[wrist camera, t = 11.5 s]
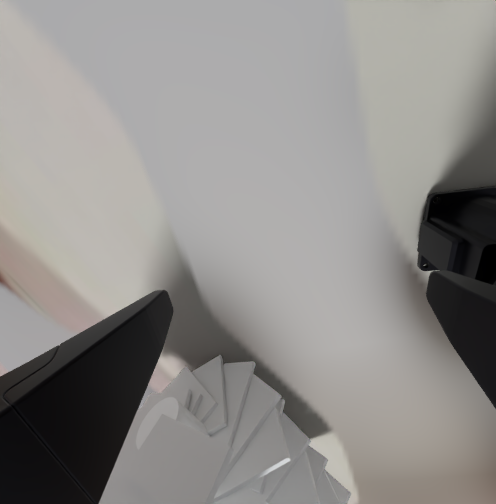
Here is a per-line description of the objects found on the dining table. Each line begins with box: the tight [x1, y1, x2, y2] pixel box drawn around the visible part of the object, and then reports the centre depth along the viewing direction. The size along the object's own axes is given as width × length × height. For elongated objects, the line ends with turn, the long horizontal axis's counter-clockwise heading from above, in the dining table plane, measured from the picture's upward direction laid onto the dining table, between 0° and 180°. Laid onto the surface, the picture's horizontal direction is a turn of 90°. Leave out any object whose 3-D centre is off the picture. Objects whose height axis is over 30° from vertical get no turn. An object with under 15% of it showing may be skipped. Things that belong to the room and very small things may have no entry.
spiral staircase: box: [99, 355, 351, 504], centre depth 25 cm, size 18×18×25 cm
